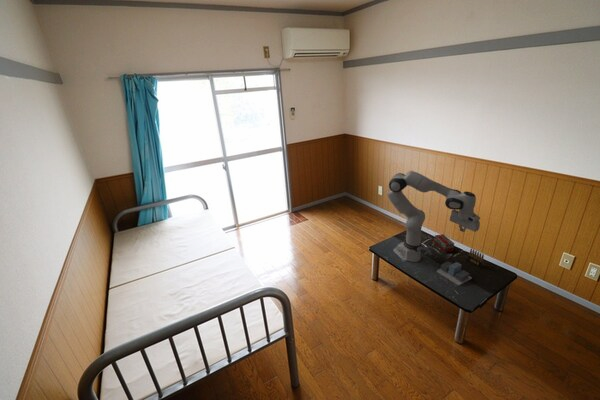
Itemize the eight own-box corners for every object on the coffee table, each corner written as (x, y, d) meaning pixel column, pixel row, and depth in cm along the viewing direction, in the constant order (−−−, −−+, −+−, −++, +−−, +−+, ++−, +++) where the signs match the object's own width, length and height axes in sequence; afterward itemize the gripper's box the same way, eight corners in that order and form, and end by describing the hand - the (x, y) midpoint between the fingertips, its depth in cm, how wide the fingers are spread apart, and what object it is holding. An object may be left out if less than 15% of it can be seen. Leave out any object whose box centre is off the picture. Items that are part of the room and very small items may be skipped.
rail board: (436, 271, 211) (437, 265, 208) (449, 265, 216) (450, 259, 214) (458, 285, 196) (460, 279, 194) (471, 278, 202) (473, 272, 199)
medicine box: (453, 251, 232) (454, 243, 229) (444, 252, 231) (445, 244, 228) (441, 241, 246) (443, 233, 242) (433, 242, 244) (434, 235, 241)
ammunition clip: (466, 260, 220) (469, 248, 215) (468, 260, 220) (471, 247, 215) (480, 268, 211) (483, 255, 206) (482, 267, 212) (485, 254, 207)
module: (447, 273, 205) (449, 265, 202) (455, 269, 209) (456, 261, 206) (452, 276, 202) (454, 268, 199) (460, 272, 205) (461, 264, 202)
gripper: (449, 209, 203) (446, 226, 209) (476, 221, 187) (472, 238, 192) (454, 207, 206) (452, 224, 212) (482, 218, 189) (478, 236, 195)
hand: (462, 231), depth 202 cm, fingers closed
